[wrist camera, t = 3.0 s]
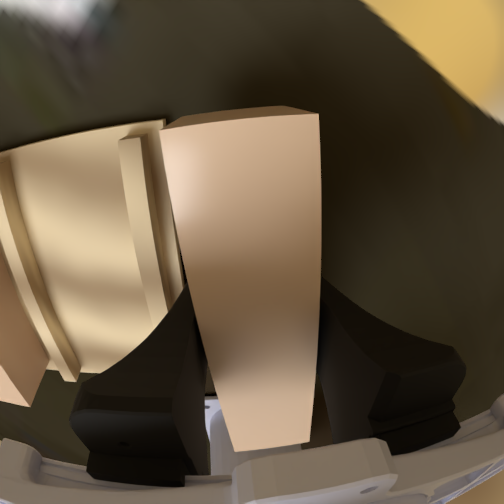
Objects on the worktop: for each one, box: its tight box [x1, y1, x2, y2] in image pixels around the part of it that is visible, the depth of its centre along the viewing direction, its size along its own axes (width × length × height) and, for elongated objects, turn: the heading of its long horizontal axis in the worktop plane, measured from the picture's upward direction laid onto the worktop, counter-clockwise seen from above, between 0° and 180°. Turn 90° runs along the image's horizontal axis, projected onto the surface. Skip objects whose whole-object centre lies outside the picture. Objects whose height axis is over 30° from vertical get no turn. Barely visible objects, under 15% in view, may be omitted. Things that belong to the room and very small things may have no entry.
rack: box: [0, 119, 185, 382], centre depth 16 cm, size 16×18×2 cm
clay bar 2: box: [159, 106, 321, 452], centre depth 12 cm, size 14×4×4 cm, turn 5°
